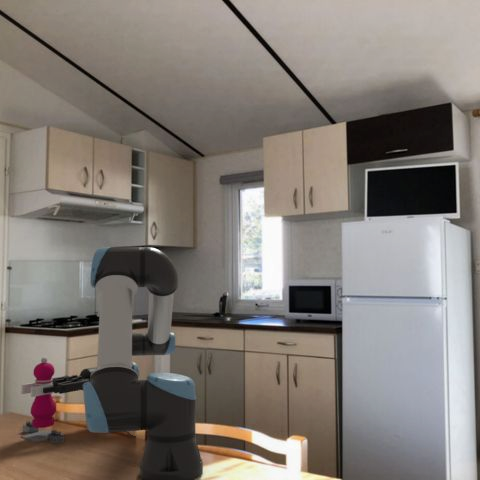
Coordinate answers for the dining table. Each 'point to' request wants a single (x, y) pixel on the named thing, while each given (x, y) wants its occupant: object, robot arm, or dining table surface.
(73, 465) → the dining table surface
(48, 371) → the pepper mill
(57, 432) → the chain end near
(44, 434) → the plate
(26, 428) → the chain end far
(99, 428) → the robot arm
